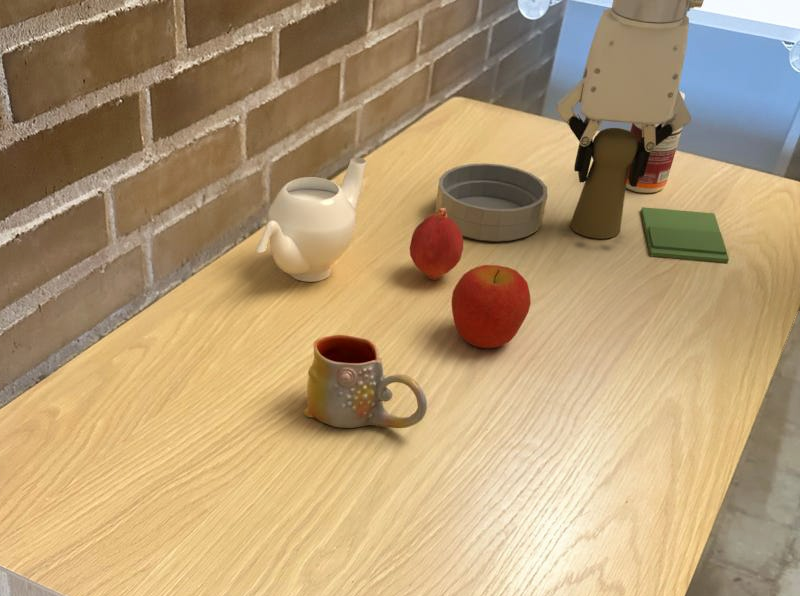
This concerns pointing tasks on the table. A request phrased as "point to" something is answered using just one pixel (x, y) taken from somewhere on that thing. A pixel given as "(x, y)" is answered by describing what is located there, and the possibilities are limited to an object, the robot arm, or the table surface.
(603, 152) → the brown tapered knob piece
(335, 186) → the teapot
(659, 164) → the pill bottle
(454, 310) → the apple
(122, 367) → the table surface
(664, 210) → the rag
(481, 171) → the pan
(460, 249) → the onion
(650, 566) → the table surface
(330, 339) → the mug
